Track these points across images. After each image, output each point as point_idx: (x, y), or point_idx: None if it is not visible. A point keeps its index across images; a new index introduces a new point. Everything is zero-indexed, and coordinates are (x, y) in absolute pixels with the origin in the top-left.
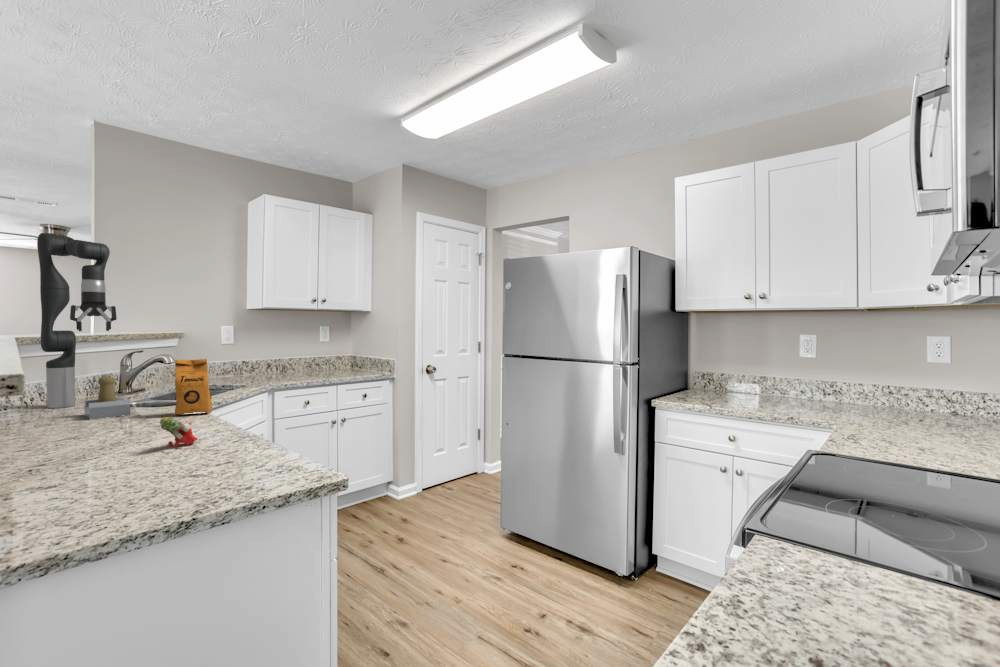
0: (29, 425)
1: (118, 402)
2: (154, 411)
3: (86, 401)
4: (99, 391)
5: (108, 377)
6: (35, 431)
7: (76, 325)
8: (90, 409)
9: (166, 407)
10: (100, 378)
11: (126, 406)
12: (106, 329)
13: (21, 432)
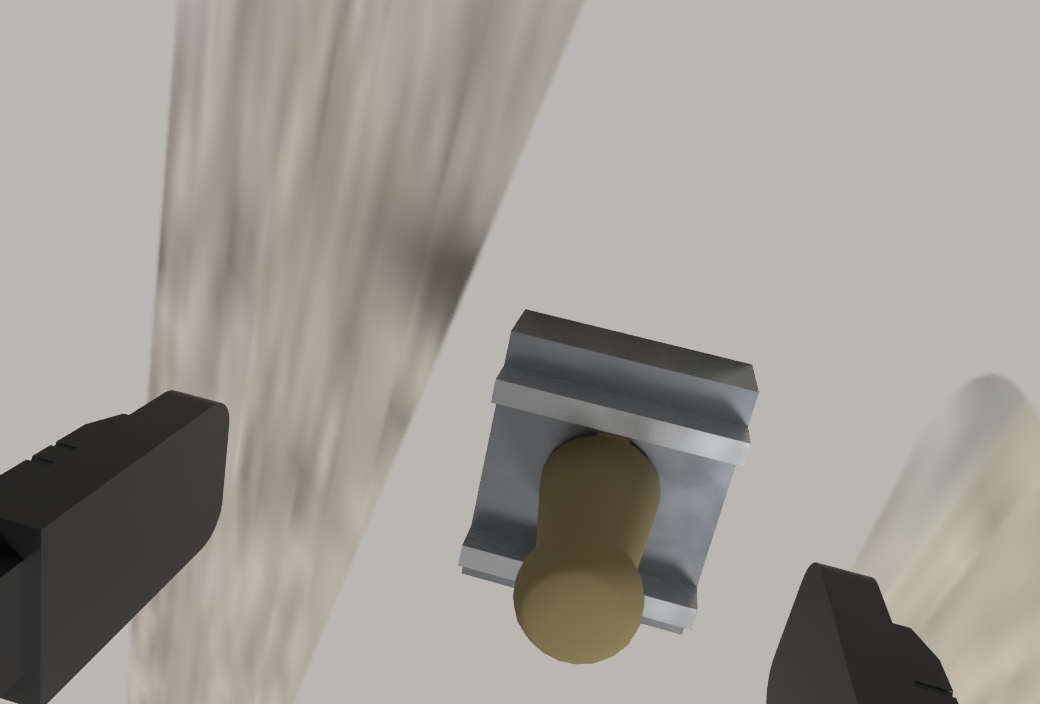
0: (229, 413)
1: None
2: (856, 572)
3: (498, 400)
4: (537, 534)
5: (569, 660)
6: (221, 627)
7: (15, 482)
8: (465, 572)
9: (1024, 472)
10: (519, 619)
11: (659, 625)
12: (794, 648)
13: (176, 596)
